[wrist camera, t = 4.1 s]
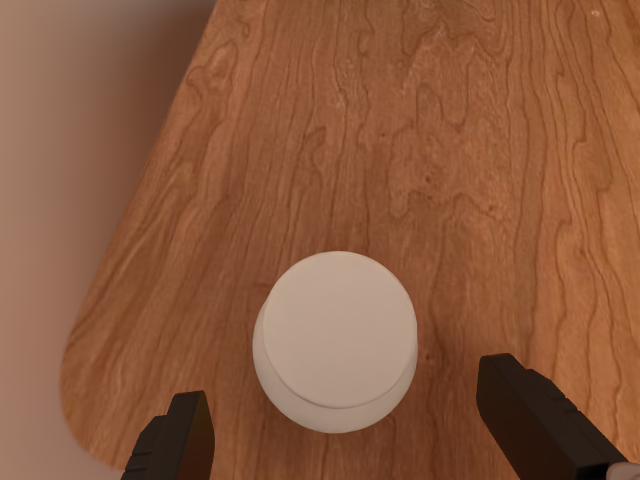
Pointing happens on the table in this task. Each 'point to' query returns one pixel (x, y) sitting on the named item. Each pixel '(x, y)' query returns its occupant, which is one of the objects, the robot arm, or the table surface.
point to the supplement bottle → (336, 342)
